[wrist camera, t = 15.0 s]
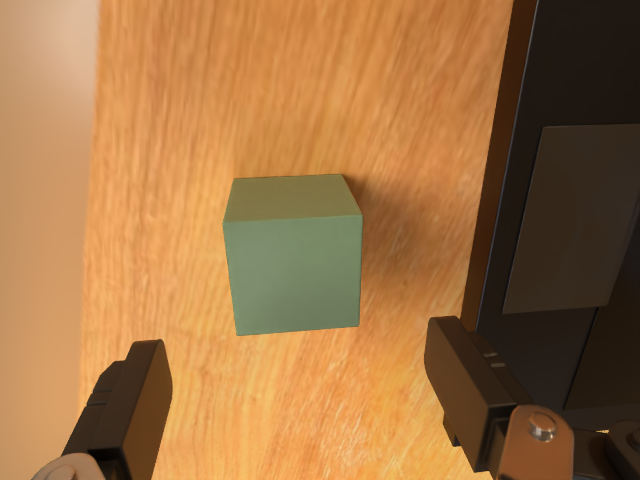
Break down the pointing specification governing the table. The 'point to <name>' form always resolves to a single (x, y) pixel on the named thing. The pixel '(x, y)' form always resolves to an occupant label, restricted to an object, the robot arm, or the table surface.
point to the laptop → (564, 212)
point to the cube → (293, 253)
